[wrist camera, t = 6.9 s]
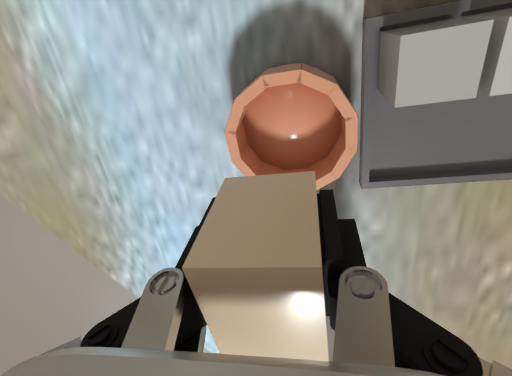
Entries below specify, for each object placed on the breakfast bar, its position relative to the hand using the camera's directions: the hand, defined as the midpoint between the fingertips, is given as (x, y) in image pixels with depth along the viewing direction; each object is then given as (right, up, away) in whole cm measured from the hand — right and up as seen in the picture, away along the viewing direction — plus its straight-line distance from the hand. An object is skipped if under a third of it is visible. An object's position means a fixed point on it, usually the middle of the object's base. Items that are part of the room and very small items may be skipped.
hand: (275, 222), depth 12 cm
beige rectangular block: (0, 0, 0) cm, 0 cm away
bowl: (+2, +7, +11) cm, 13 cm away
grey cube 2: (+10, +11, +7) cm, 16 cm away
